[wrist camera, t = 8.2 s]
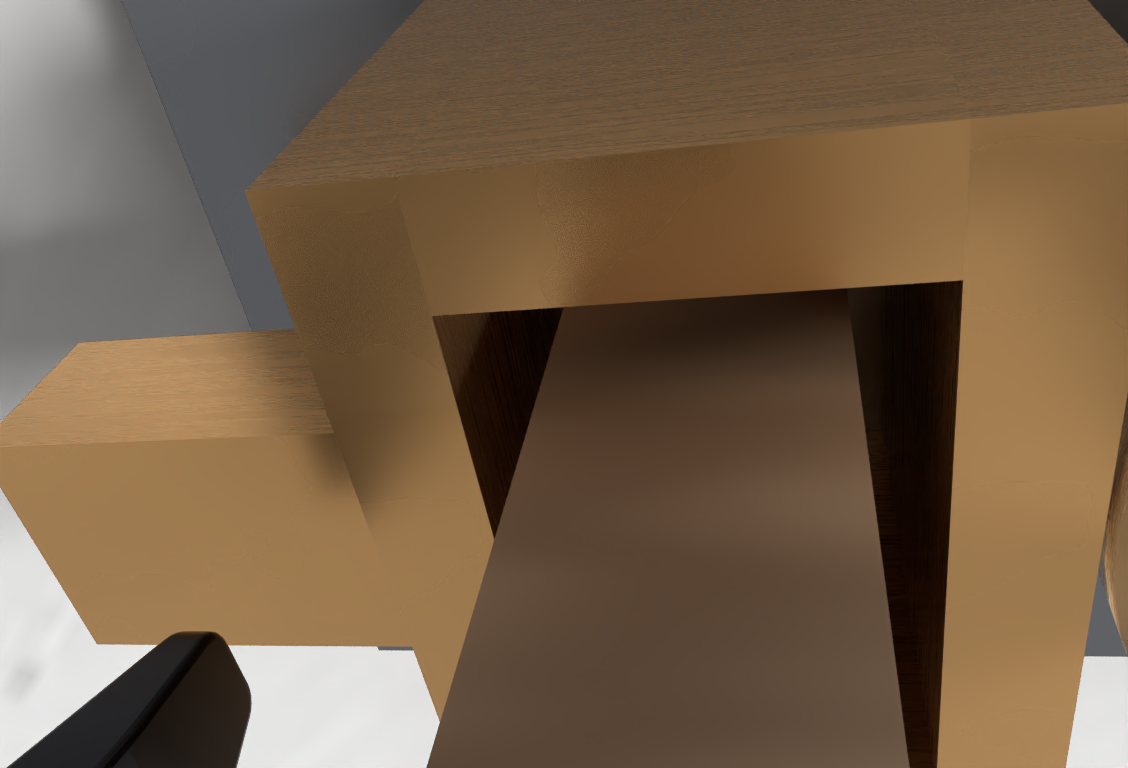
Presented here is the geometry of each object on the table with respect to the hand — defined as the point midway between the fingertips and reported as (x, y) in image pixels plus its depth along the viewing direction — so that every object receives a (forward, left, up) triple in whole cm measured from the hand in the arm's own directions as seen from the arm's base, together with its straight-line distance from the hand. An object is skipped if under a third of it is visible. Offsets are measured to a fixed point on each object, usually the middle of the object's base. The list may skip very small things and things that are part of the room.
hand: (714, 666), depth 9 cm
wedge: (0, 0, -7) cm, 7 cm away
